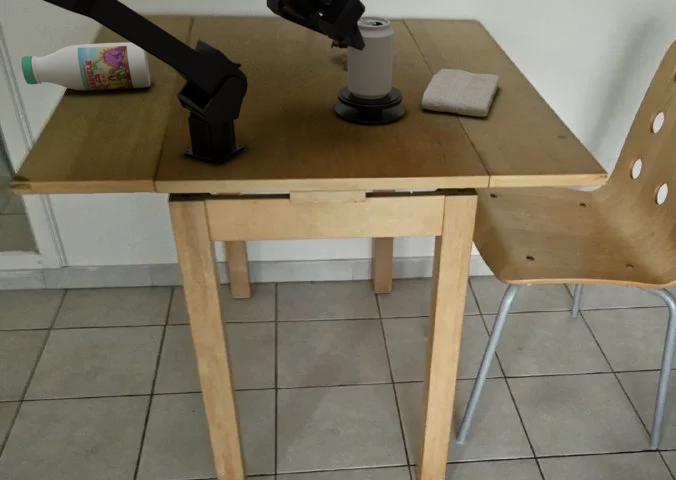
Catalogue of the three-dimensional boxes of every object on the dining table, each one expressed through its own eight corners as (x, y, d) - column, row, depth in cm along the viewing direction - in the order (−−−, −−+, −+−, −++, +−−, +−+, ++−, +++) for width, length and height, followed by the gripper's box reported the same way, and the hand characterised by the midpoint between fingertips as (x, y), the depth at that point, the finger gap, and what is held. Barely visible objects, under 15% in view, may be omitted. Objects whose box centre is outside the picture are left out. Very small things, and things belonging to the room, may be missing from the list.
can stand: (386, 130, 117) (387, 110, 115) (322, 116, 120) (321, 97, 118) (415, 107, 126) (416, 88, 124) (354, 94, 129) (354, 76, 127)
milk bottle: (151, 79, 131) (33, 86, 126) (144, 36, 127) (22, 41, 122) (151, 92, 125) (27, 100, 120) (143, 48, 121) (14, 53, 116)
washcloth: (499, 86, 136) (501, 70, 134) (487, 121, 122) (490, 103, 120) (438, 79, 138) (439, 63, 136) (419, 112, 124) (421, 95, 122)
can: (394, 100, 118) (397, 26, 112) (349, 101, 117) (349, 26, 110) (388, 84, 125) (390, 13, 118) (345, 85, 123) (345, 13, 117)
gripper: (355, -64, 95) (413, 12, 107) (279, -85, 106) (339, -14, 118) (307, 5, 95) (370, 73, 107) (236, -23, 106) (301, 41, 118)
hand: (345, 40), depth 113 cm, fingers open, 9 cm apart
